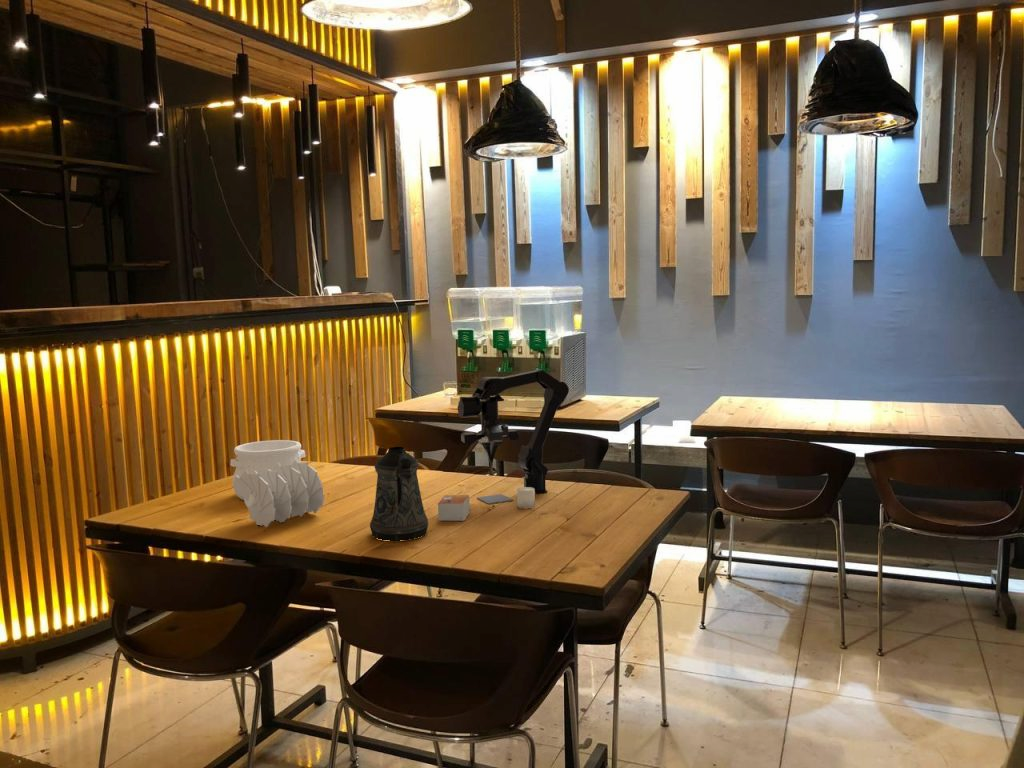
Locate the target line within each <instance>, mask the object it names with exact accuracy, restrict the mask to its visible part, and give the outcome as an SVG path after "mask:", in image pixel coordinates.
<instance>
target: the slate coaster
mask: <svg viewBox="0 0 1024 768" xmlns="http://www.w3.org/2000/svg"><path fill="white" fill-rule="evenodd" d="M476 499H477V500H479V501H481V502H482V501H483V503H484V502H485V504H486V503H487V504H486V505H488V504H489V505H494V504H493V503H496V504H501V503H500V502H502V503H506V502H507V503H509V502H513V501H514V499H513V498H511V497H509V496H506V495H505V494H502V493H500V494H492V495H487V496H479V497H478V496H477V497H476ZM508 501H509V502H508Z"/></svg>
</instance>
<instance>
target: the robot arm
mask: <svg viewBox="0 0 1024 768" xmlns="http://www.w3.org/2000/svg"><path fill="white" fill-rule="evenodd" d="M534 383H538V385H539V386H540V387H541V388H543V389H544V393H543V398H544V399H543V400H544V401H543V402H544V403H543V406H542V409H541V412H540V414H539V417H538V419H537V422H536V424H535V427H534V429H533V431H532V432H533V433H532V435H531V437H530V439H529V442H528V443H527V445H526V446H525V445H521V447H520V450H519V453H518V454H517V457H518V459H517V462H518V464H519V466H520V468H522V470H523V472H524V474H525V475H524V476H525V477H523V487H532V488H534V489H535V494H543V493H547V492H548V490H547V489H546V487H547V486H546V476H547V475H548V471H549V468H548V467H546V465H544V464H543V457H544V456H543V455H544V452H543V449H544V448H543V447H544V444H545V442H546V439H547V436H548V434H549V431H550V430H551V429H550V428H551V427H552V423H553V420H554V418H555V415H556V413H557V410H558V408H559V407H560V406H561V405H562V404H563V403H564V402H565V400H566V398H567V396H568V394H569V392H570V388H569V386H568V384H567V383H566V382H564V381H560V380H558V379H557V378H555V377H553V376H552V375H550V374H549V373H547V372H546V371H545V370H543V369H539V368H536V369H534V370H530V371H525V372H521V373H516V374H512V375H511V374H510V375H506V376H484V377H481V378H480V380H479V381H478V384H477V387H476V389H474V392H473V393H472V395H471V396H459V401H458V405H457V414H458V416H459V418H460V419H461V418H474V417H478V416H479V415H480V421H481V422H480V423H481V425H480V427H481V429H480V433H477V434H476V433H475V432H474V431H467V432H462V433H461V434H460V440H461V442H462V443H464V444H474V443H476V442H478V444H480V445H482V447H483V450H484V452H485V454H486V456H487V459H488V462H490V463H493V462H494V459H495V455H496V452H497V449H498V447H499V446H500V444H503V443H504V441H503V439H505V438H506V439H507V438H508V439H509V440H510V441H517V440H520V433H519V431H518V430H516V429H514V428H510V429H509V426H508V424H500V418H499V402H504V401H505V399H504V398H503V397H502V395H501V393H503V392H505V391H506V390H508V389H512V388H515V387H520V386H521V387H522V386H525V385H529V384H530V385H531V384H534Z"/></svg>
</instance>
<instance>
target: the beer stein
mask: <svg viewBox="0 0 1024 768" xmlns="http://www.w3.org/2000/svg"><path fill="white" fill-rule="evenodd" d="M419 463H420V462H419V461H418V460H417V459H416V458H415V457H414V456H412V455H411V454H409V452H408V451H406V448H405V447H403V446H392V447H389V448H388V451H387V452H386V453H385V454H384V455H383V456H382V457H381V458H379V459H378V460H377V461H376V463H375V464H374V470H375V472H376V474H377V480H376V487H375V488H376V489H375V499H374V508H373V512H372V513H373V514H372V517H371V520H370V522H369V529H370V531H371V537H372V536H374V537H375V538H378V539H382V540H390V541H400V540H409V539H414V538H418V537H421V536H423V535H424V536H426V535H427V533H428V532H427V531H428V528H429V518H428V517H427V514H426V512H425V511H426V510H425V508H424V504H423V499H422V495H421V491H420V486H419V485H420V484H419V478H418V469H419ZM425 534H426V535H425ZM424 536H423V537H424ZM375 538H374V539H375ZM421 538H422V537H421ZM418 539H419V538H418Z"/></svg>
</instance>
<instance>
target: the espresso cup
mask: <svg viewBox="0 0 1024 768" xmlns="http://www.w3.org/2000/svg"><path fill="white" fill-rule="evenodd" d="M535 496H536V493H535V489H534V488H532V487H524V486H523V487H518V488H517V489H516V499H517V500H516V501H517V502H516V503H517V506H516V507H517V508H518V507H519V508H518V509H522V508H524V509H525V508H529V509H534V508H535V507H536V498H535ZM533 507H534V508H533ZM524 509H523V510H524Z"/></svg>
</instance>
